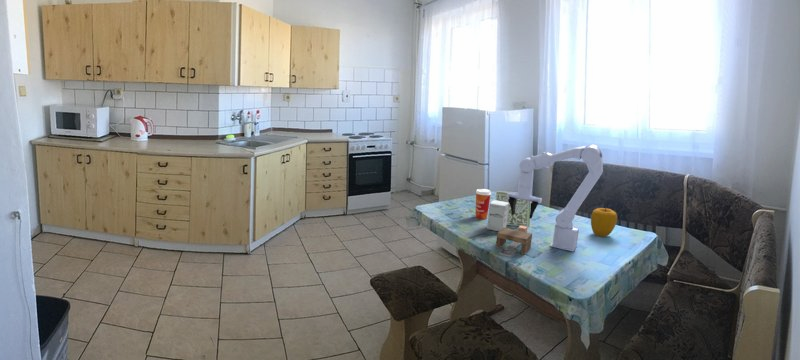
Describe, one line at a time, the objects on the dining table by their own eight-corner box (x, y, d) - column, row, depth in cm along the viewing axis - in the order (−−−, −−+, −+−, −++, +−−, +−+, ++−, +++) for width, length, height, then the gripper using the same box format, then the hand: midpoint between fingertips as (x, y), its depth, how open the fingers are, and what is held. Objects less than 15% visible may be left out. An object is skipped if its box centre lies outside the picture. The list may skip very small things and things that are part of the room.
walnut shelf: (530, 248, 186) (532, 233, 185) (524, 254, 179) (526, 239, 178) (502, 241, 192) (503, 227, 191) (495, 247, 185) (497, 232, 184)
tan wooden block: (526, 239, 196) (527, 226, 194) (512, 252, 181) (514, 238, 179) (519, 238, 197) (520, 225, 196) (505, 250, 182) (506, 236, 181)
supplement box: (486, 229, 207) (489, 203, 204) (491, 225, 214) (493, 199, 211) (502, 232, 204) (505, 205, 201) (506, 228, 210) (509, 202, 207)
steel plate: (515, 254, 180) (515, 251, 180) (511, 258, 176) (511, 255, 176) (503, 251, 183) (503, 248, 183) (499, 255, 179) (499, 252, 178)
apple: (617, 240, 200) (621, 213, 197) (591, 238, 202) (595, 210, 199) (611, 232, 210) (615, 206, 207) (586, 230, 212) (590, 203, 209)
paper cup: (470, 216, 226) (472, 189, 222) (483, 214, 229) (485, 188, 226) (479, 220, 219) (481, 193, 216) (492, 219, 222) (494, 192, 219)
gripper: (544, 186, 192) (541, 217, 196) (511, 181, 200) (508, 210, 203) (540, 190, 186) (536, 221, 190) (506, 184, 194) (503, 214, 197)
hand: (521, 216), depth 196 cm, fingers open, 7 cm apart
